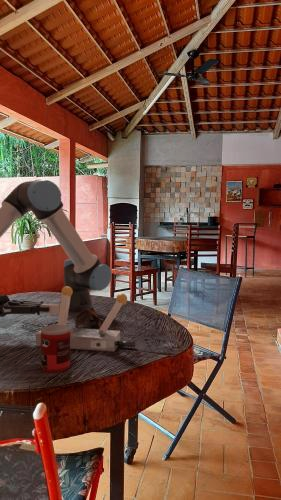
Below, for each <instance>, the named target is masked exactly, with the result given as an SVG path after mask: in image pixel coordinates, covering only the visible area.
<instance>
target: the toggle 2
mask: <svg viewBox="0 0 281 500" xmlns="http://www.w3.org/2000/svg"><path fill="white" fill-rule="evenodd" d="M115 300H116V301H115V303H114V304H113V306H112V307H111V309H110V311H109V313H108V314H107V317H106V318H105V319H104V321H103V323H101V325H102V326H101V328H100V329H99V328H98V330H99V335H102V334H104V333H105V332H106V331H107V330H109V328H110V326H111V324H112V322H113V320H114V319H115V317H116V316H117V314H118V312H119V311H120V309H121V308H122V306H123V305H125V304H126V303H127V302H128V297H127V295H126V294H125V293H119V294H117V295H116V297H115Z"/></svg>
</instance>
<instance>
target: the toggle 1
mask: <svg viewBox="0 0 281 500" xmlns="http://www.w3.org/2000/svg"><path fill="white" fill-rule="evenodd" d="M60 292H61V299H60V302H61V305H60V304H59V305H60V312H59V314H58V321H57V325H65V326H67V323H68V317H69V312H70V311H69V305H70V298H71V295H72V293H73V291H72V288H71V287H69V286H65V287H64V286H63V287H62V289H61V291H60Z"/></svg>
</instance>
